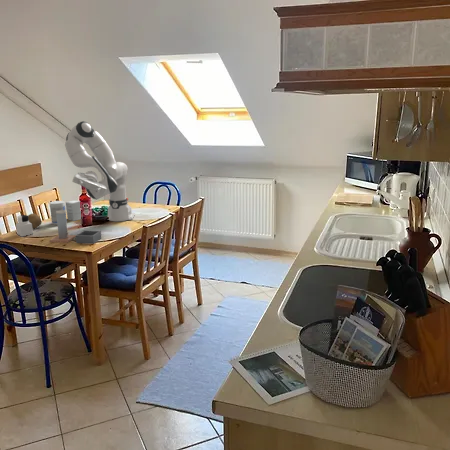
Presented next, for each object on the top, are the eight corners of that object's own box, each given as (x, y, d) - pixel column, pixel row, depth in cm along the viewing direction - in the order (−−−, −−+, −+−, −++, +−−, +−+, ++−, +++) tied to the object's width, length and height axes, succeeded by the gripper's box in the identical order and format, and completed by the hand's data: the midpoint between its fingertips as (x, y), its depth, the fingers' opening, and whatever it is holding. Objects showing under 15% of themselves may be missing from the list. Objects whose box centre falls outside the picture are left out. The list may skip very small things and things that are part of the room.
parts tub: (84, 237, 263) (83, 230, 262) (101, 238, 262) (100, 231, 261) (76, 242, 253) (75, 235, 252) (93, 243, 252) (93, 236, 251)
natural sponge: (23, 229, 281) (21, 214, 278) (33, 226, 289) (31, 211, 286) (34, 231, 278) (32, 215, 275) (44, 227, 286) (42, 212, 283)
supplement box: (76, 217, 311) (74, 200, 308) (82, 218, 307) (80, 201, 303) (67, 219, 305) (65, 201, 302) (73, 221, 301) (71, 203, 298)
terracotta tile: (59, 236, 266) (59, 234, 266) (76, 237, 264) (76, 235, 264) (50, 241, 255) (49, 240, 255) (67, 242, 254) (67, 240, 254)
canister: (61, 236, 262) (58, 210, 258) (69, 236, 262) (67, 210, 258) (57, 238, 257) (54, 212, 253) (65, 238, 257) (62, 212, 253)
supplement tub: (68, 224, 294) (66, 202, 290) (53, 226, 289) (51, 204, 285) (64, 220, 302) (62, 200, 298) (50, 223, 297) (47, 201, 293)
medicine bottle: (28, 232, 276) (26, 213, 272) (33, 234, 271) (30, 215, 268) (17, 234, 271) (14, 215, 268) (21, 236, 266) (18, 217, 263)
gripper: (104, 192, 275) (104, 198, 262) (72, 180, 267) (70, 185, 255) (108, 183, 273) (108, 189, 261) (75, 170, 266) (74, 176, 253)
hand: (89, 187), depth 258 cm, fingers open, 8 cm apart
